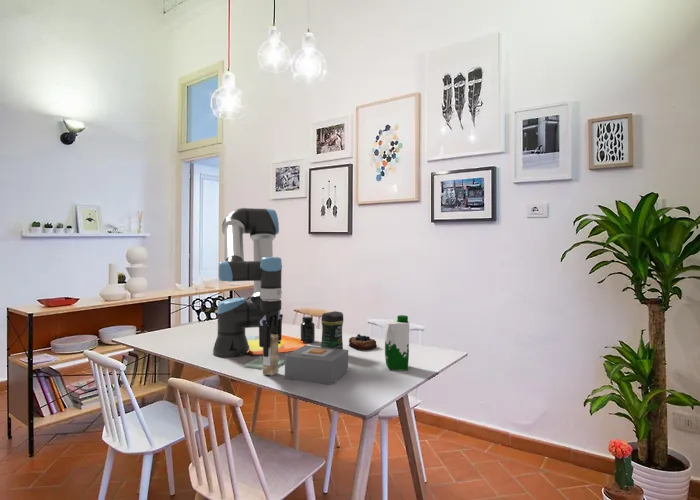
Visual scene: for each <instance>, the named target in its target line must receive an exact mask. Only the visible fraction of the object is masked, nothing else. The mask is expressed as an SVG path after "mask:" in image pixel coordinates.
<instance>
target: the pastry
mask: <svg viewBox="0 0 700 500" xmlns="http://www.w3.org/2000/svg"><path fill="white" fill-rule="evenodd" d="M348 347H350V348H351V349H354V350H356V351H370V350H374V349H377V348H378V345H377V341H376V340H375V339H374V338H370V336H369V335H368V336H367V335H361V334H360V333H358V334H357V336H350V338H349V340H348Z"/></svg>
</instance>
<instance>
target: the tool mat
mask: <svg viewBox="0 0 700 500" xmlns="http://www.w3.org/2000/svg"><path fill="white" fill-rule="evenodd" d="M282 365H285V358H284V359H283V358H278V368H279V367H281V366H282ZM243 366H244V368H251V369H259V370H263V356H260V357H258V358H256V359H253V360H252V361H249V362H247V363H246V364H244V365H243Z"/></svg>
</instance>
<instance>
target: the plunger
mask: <svg viewBox="0 0 700 500" xmlns="http://www.w3.org/2000/svg"><path fill="white" fill-rule="evenodd" d="M324 352H326V349H320V348H314V349H312V350H310V351H309V353H313V354H323V353H324Z"/></svg>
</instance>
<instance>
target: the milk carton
mask: <svg viewBox="0 0 700 500" xmlns="http://www.w3.org/2000/svg"><path fill="white" fill-rule="evenodd" d="M384 329H385V330H384V357H385V365H386V368H387V369H388V370H389V371H408V369H409V357H410V355H409V353H410V322H409V316H408V315H403V314H402V315H397V318H396V319H386V320H385V328H384Z"/></svg>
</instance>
